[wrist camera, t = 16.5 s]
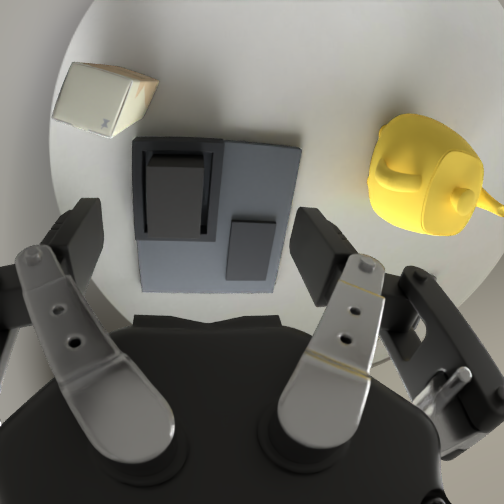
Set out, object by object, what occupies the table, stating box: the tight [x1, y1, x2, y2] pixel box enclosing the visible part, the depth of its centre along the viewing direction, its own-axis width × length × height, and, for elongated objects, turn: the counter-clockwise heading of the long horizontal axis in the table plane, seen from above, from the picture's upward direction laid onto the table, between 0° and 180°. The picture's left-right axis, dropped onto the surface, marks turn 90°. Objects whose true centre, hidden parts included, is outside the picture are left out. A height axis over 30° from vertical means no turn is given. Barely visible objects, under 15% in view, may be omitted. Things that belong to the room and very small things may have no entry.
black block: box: [146, 154, 204, 239], centre depth 28 cm, size 5×7×4 cm
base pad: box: [132, 137, 302, 293], centre depth 32 cm, size 17×19×3 cm
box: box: [52, 62, 159, 138], centre depth 20 cm, size 5×4×11 cm
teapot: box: [367, 113, 504, 236], centre depth 28 cm, size 13×20×12 cm
